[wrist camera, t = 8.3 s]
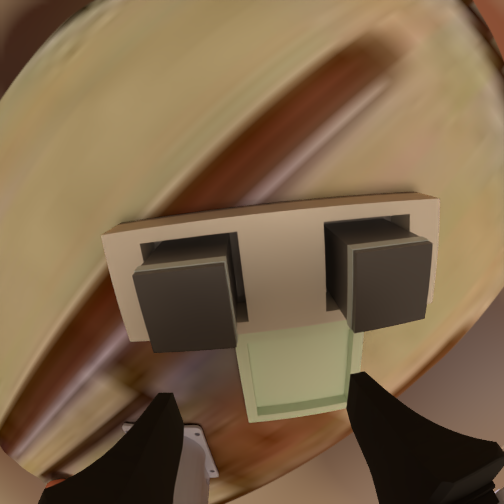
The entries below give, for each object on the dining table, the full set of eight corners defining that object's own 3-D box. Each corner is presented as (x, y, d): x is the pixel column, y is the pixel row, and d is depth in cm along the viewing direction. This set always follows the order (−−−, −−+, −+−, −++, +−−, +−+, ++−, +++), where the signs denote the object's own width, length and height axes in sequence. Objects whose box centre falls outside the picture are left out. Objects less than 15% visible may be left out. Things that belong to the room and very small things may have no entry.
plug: (382, 278, 20) (425, 319, 14) (324, 286, 20) (353, 334, 14) (383, 217, 19) (433, 241, 13) (322, 223, 19) (355, 252, 13)
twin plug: (238, 295, 20) (237, 348, 14) (174, 301, 20) (153, 353, 14) (229, 231, 19) (224, 264, 13) (162, 239, 19) (130, 274, 13)
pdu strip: (410, 284, 21) (432, 302, 18) (143, 317, 21) (130, 341, 18) (414, 191, 19) (439, 198, 16) (120, 223, 19) (100, 235, 16)
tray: (350, 394, 24) (355, 406, 22) (248, 409, 24) (248, 422, 22) (357, 306, 21) (364, 316, 20) (233, 322, 21) (233, 334, 20)
